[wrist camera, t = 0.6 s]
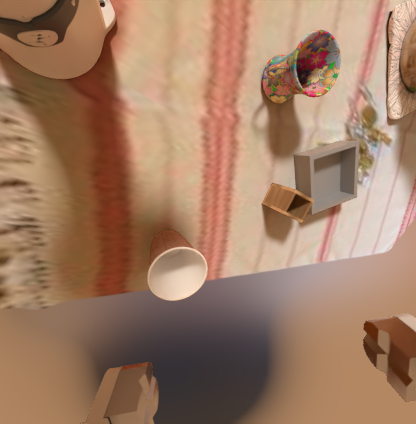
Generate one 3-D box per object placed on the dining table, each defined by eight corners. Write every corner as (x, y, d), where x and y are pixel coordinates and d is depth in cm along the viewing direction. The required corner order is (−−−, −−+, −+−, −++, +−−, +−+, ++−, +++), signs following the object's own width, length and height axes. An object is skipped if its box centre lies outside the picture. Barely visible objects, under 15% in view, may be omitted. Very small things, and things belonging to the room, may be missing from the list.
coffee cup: (158, 273, 48) (166, 311, 38) (133, 238, 44) (134, 269, 33) (198, 250, 50) (216, 280, 39) (178, 213, 46) (192, 236, 35)
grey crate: (293, 154, 51) (309, 156, 46) (340, 140, 54) (359, 140, 49) (297, 208, 56) (312, 214, 51) (339, 193, 59) (356, 197, 55)
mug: (298, 55, 44) (344, 31, 34) (295, 105, 47) (336, 96, 38) (245, 52, 41) (281, 25, 31) (246, 107, 44) (278, 97, 34)
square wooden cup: (261, 203, 52) (282, 213, 45) (272, 182, 51) (295, 189, 44) (279, 212, 54) (301, 222, 47) (289, 192, 54) (314, 200, 46)
